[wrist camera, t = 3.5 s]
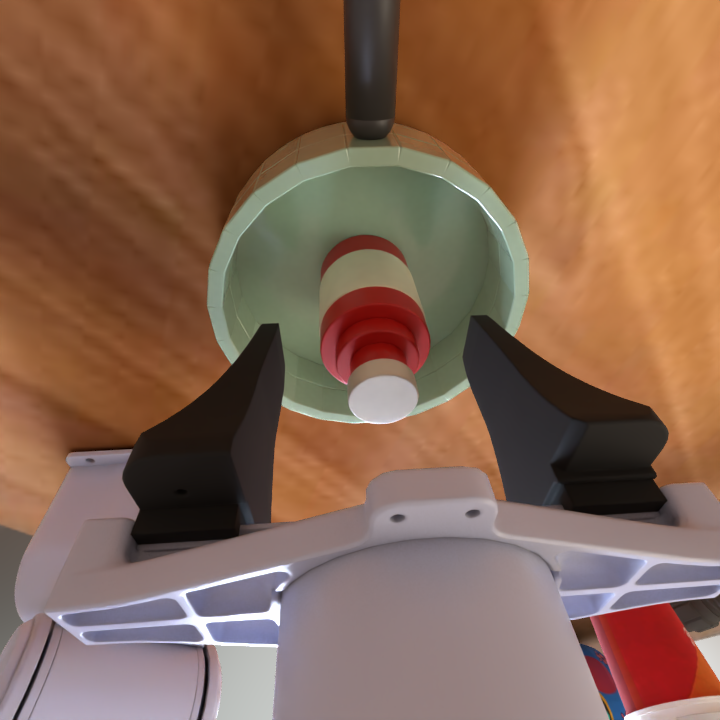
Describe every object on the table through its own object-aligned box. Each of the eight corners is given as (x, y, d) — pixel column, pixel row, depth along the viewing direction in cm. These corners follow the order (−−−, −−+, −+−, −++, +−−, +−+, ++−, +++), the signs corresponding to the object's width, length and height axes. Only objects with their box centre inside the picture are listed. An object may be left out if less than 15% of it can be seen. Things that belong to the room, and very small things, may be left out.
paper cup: (606, 561, 44) (697, 741, 33) (539, 560, 42) (613, 746, 32) (653, 523, 39) (779, 718, 28) (580, 519, 38) (683, 723, 27)
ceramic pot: (579, 611, 53) (650, 778, 42) (624, 640, 62) (692, 783, 51) (460, 648, 60) (493, 801, 48) (517, 669, 69) (556, 802, 57)
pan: (251, 375, 24) (240, 429, 21) (193, 122, 16) (162, 151, 13) (472, 365, 25) (493, 416, 22) (527, 117, 16) (574, 143, 13)
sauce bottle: (322, 314, 21) (322, 445, 15) (316, 234, 18) (313, 353, 12) (405, 311, 21) (440, 439, 15) (412, 231, 19) (457, 347, 12)
